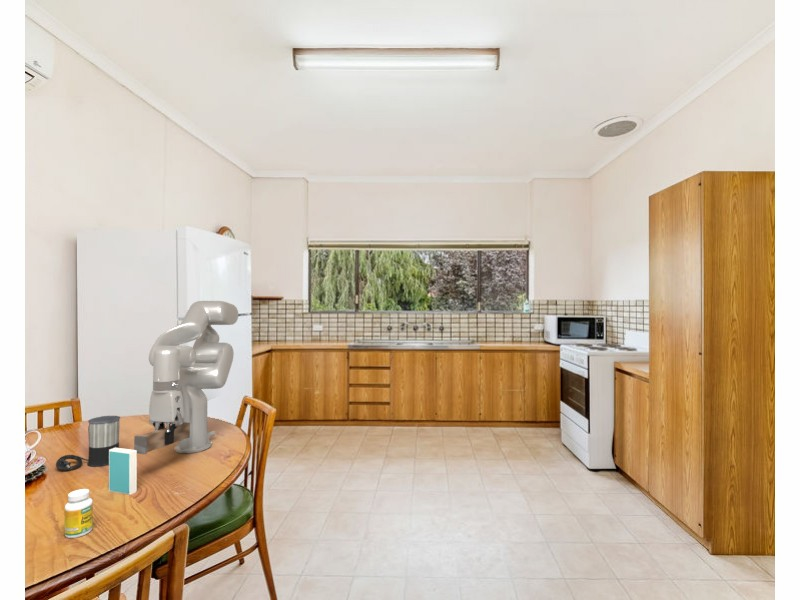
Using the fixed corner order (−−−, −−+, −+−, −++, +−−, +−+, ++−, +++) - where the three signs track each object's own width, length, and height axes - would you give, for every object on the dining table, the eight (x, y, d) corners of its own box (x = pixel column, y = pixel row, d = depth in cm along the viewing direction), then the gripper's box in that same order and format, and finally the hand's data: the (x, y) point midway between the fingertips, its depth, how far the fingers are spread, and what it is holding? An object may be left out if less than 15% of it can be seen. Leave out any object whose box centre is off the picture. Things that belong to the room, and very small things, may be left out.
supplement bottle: (75, 527, 104) (75, 487, 104) (97, 526, 104) (98, 487, 104) (58, 539, 98) (58, 497, 98) (82, 538, 99) (82, 497, 99)
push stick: (182, 436, 147) (182, 422, 147) (191, 437, 145) (191, 422, 146) (133, 453, 129) (134, 436, 129) (144, 454, 127) (144, 437, 128)
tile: (115, 488, 125) (115, 447, 125) (136, 491, 123) (136, 450, 123) (108, 491, 123) (108, 450, 123) (129, 495, 121) (129, 452, 121)
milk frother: (126, 458, 149) (127, 416, 149) (82, 476, 134) (82, 429, 134) (95, 454, 153) (95, 413, 153) (48, 471, 138) (49, 425, 138)
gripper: (195, 385, 139) (194, 442, 139) (156, 383, 144) (155, 438, 143) (177, 389, 132) (176, 449, 131) (136, 386, 137) (135, 444, 136)
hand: (165, 443), depth 137 cm, fingers closed on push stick, 2 cm apart
